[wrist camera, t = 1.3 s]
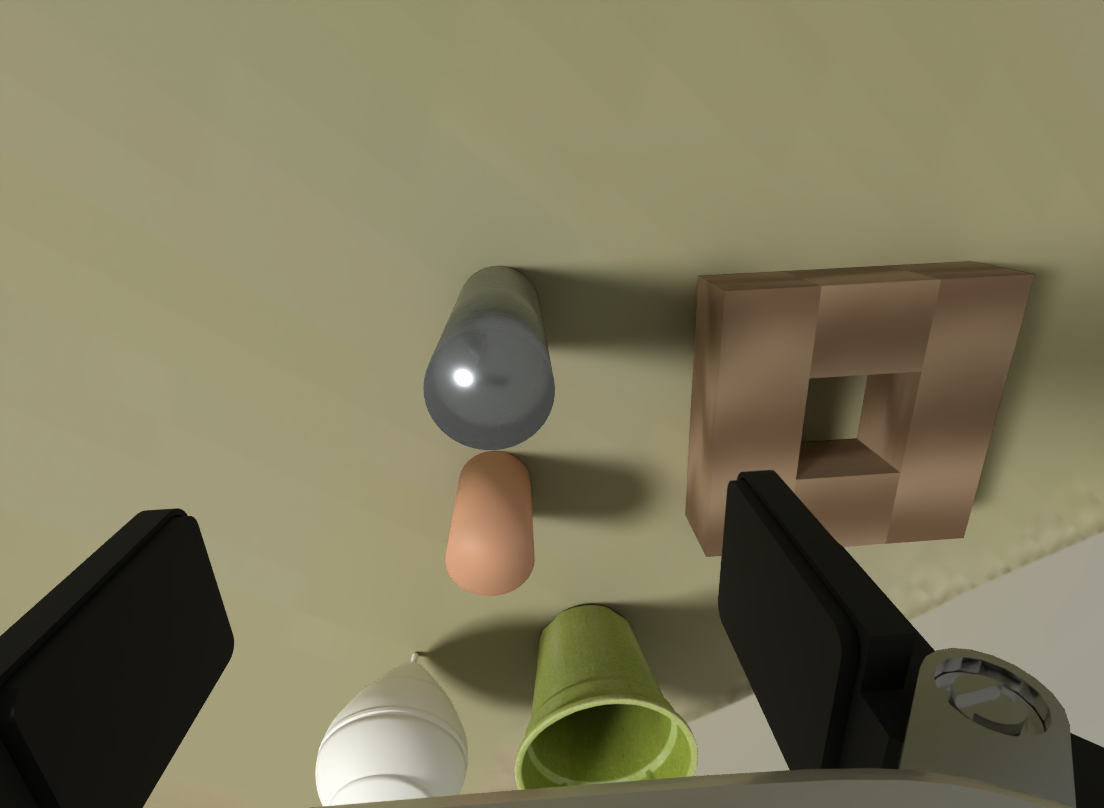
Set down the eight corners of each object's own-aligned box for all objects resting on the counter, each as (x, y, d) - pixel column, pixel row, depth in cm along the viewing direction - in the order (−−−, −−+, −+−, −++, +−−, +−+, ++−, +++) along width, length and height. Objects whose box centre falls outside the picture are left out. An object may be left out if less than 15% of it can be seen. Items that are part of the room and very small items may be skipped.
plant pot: (654, 570, 36) (695, 687, 28) (662, 683, 39) (701, 815, 31) (503, 592, 35) (501, 715, 27) (525, 703, 39) (529, 841, 31)
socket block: (697, 275, 29) (724, 291, 25) (969, 261, 29) (1034, 274, 26) (685, 515, 34) (706, 556, 30) (915, 498, 35) (963, 537, 31)
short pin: (455, 453, 32) (440, 526, 25) (528, 448, 32) (531, 519, 25) (462, 515, 33) (450, 599, 27) (532, 510, 33) (536, 592, 27)
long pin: (454, 268, 28) (415, 331, 17) (537, 263, 28) (551, 324, 17) (462, 347, 29) (432, 453, 18) (541, 342, 30) (557, 446, 19)
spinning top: (495, 628, 36) (487, 829, 25) (449, 710, 39) (423, 927, 28) (378, 590, 35) (314, 787, 24) (337, 678, 37) (262, 895, 26)
